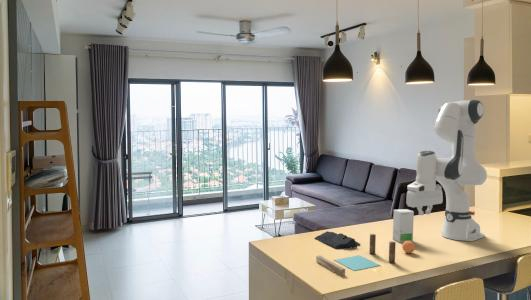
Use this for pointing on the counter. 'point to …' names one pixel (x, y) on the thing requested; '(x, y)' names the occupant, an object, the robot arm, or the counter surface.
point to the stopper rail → (330, 265)
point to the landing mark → (356, 262)
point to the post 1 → (372, 244)
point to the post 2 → (392, 252)
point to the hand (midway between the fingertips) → (424, 214)
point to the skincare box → (403, 225)
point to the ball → (408, 246)
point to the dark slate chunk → (337, 240)
